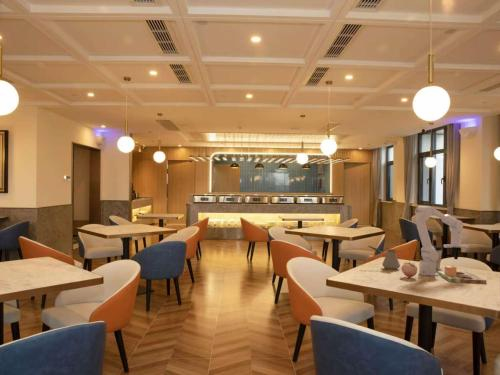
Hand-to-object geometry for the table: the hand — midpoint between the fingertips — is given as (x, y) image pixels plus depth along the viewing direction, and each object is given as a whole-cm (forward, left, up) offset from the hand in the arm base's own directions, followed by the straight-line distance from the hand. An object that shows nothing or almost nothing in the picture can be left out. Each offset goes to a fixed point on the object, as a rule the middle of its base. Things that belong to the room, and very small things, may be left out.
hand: (455, 259), depth 259 cm
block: (-8, -15, -7) cm, 19 cm away
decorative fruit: (-33, -20, -10) cm, 40 cm away
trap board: (-2, -15, -9) cm, 18 cm away
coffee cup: (-8, +17, -10) cm, 21 cm away
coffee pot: (-44, +7, -10) cm, 46 cm away
